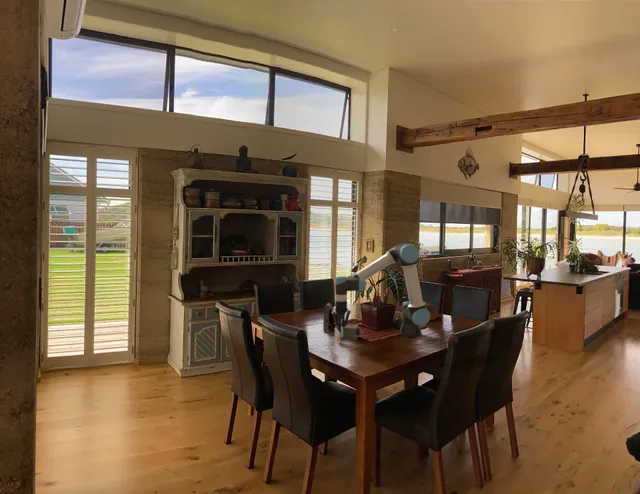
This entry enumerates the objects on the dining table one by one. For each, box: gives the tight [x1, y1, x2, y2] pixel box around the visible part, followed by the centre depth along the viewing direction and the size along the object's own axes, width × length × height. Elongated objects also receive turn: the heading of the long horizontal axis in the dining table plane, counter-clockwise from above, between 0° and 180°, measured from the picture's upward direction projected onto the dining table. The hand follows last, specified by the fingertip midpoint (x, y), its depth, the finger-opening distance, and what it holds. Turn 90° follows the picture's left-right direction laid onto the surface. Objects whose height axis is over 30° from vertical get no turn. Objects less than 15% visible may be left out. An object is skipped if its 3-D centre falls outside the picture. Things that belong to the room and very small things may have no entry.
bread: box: [423, 301, 439, 321], centre depth 348 cm, size 26×27×13 cm
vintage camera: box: [322, 302, 338, 334], centre depth 301 cm, size 10×16×20 cm, turn 78°
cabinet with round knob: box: [335, 323, 362, 341], centre depth 286 cm, size 16×9×9 cm, turn 75°
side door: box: [333, 328, 341, 345], centre depth 277 cm, size 14×2×7 cm, turn 10°
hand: (341, 336), depth 275 cm, fingers closed
